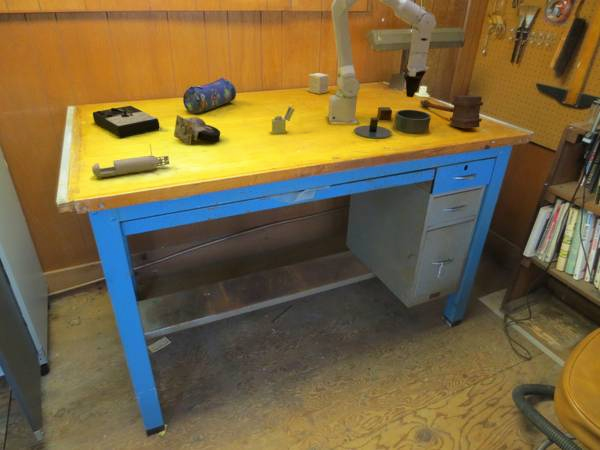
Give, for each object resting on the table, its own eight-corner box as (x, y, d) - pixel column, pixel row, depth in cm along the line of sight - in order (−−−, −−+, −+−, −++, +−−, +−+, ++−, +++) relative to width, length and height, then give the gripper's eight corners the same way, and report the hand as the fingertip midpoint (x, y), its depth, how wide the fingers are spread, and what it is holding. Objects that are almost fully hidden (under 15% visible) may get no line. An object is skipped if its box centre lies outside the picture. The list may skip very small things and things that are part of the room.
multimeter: (132, 115, 144) (130, 101, 142) (160, 129, 133) (158, 114, 130) (93, 123, 136) (90, 107, 134) (120, 138, 125) (116, 122, 122)
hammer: (464, 128, 139) (467, 97, 136) (412, 119, 169) (414, 93, 165) (481, 127, 141) (485, 96, 137) (427, 118, 170) (429, 92, 167)
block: (379, 121, 148) (380, 110, 146) (376, 118, 152) (378, 107, 150) (390, 121, 149) (392, 110, 146) (387, 118, 152) (389, 107, 150)
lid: (357, 140, 130) (359, 124, 128) (351, 128, 141) (352, 113, 138) (395, 141, 131) (397, 125, 129) (386, 128, 141) (388, 113, 139)
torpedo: (95, 182, 99) (88, 156, 96) (93, 174, 103) (87, 149, 99) (171, 169, 107) (168, 145, 103) (167, 163, 110) (164, 139, 107)
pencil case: (199, 116, 146) (197, 88, 141) (181, 112, 149) (178, 84, 144) (238, 103, 162) (237, 77, 157) (220, 99, 166) (219, 74, 161)
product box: (328, 92, 182) (329, 74, 178) (319, 94, 178) (320, 76, 175) (317, 89, 186) (318, 72, 182) (308, 91, 182) (309, 74, 178)
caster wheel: (223, 147, 128) (200, 152, 120) (195, 132, 132) (172, 136, 124) (227, 126, 125) (204, 130, 117) (199, 112, 129) (175, 114, 121)
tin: (398, 135, 136) (401, 119, 133) (390, 125, 145) (392, 109, 142) (432, 136, 136) (435, 119, 134) (421, 125, 146) (424, 109, 143)
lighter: (273, 134, 133) (273, 109, 129) (271, 132, 134) (271, 107, 130) (294, 132, 135) (294, 107, 131) (292, 130, 137) (292, 105, 132)
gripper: (428, 56, 131) (420, 100, 138) (433, 50, 142) (426, 91, 149) (405, 54, 133) (399, 97, 140) (412, 48, 145) (406, 88, 152)
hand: (411, 94), depth 145 cm, fingers open, 7 cm apart
